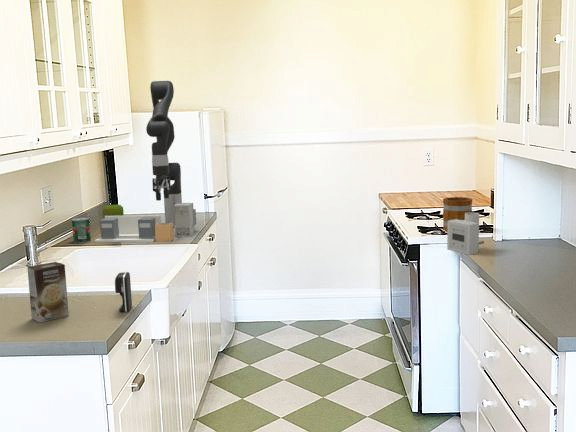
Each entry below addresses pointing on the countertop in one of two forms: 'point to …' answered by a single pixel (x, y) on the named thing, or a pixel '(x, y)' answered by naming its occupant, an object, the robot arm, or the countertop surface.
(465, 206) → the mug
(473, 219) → the thermostat
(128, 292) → the battery charger
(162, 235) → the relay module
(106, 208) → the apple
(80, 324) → the countertop surface
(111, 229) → the block
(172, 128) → the robot arm
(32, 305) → the coffee box
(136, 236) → the rail
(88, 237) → the canned tomato
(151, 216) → the panel
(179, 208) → the circuit breaker
